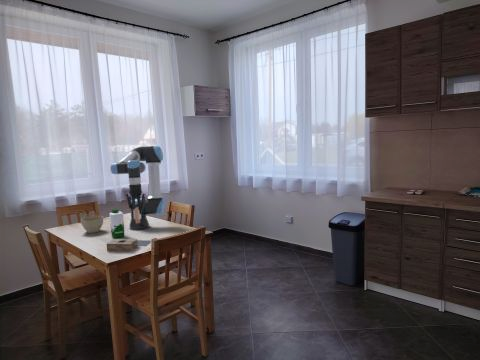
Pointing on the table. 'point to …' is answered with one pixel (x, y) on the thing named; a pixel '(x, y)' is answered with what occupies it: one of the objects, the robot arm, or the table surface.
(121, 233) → the milk carton
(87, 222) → the planter bowl
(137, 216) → the peg
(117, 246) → the hole block
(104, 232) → the table surface
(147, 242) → the mat
